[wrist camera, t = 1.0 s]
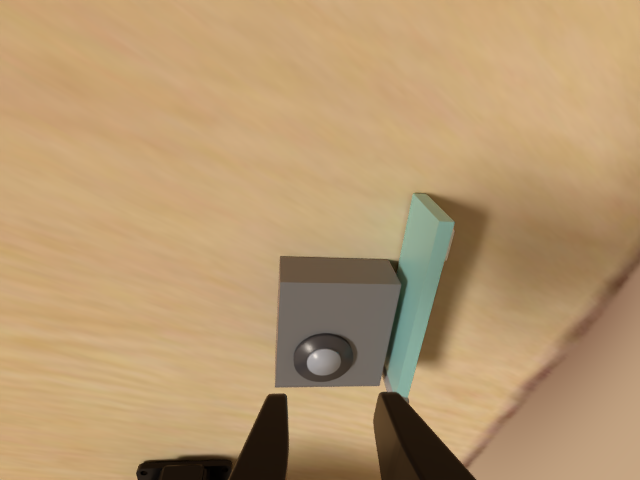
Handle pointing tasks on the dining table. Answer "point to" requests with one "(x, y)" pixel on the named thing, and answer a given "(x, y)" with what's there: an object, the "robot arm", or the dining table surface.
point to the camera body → (333, 321)
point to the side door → (416, 288)
